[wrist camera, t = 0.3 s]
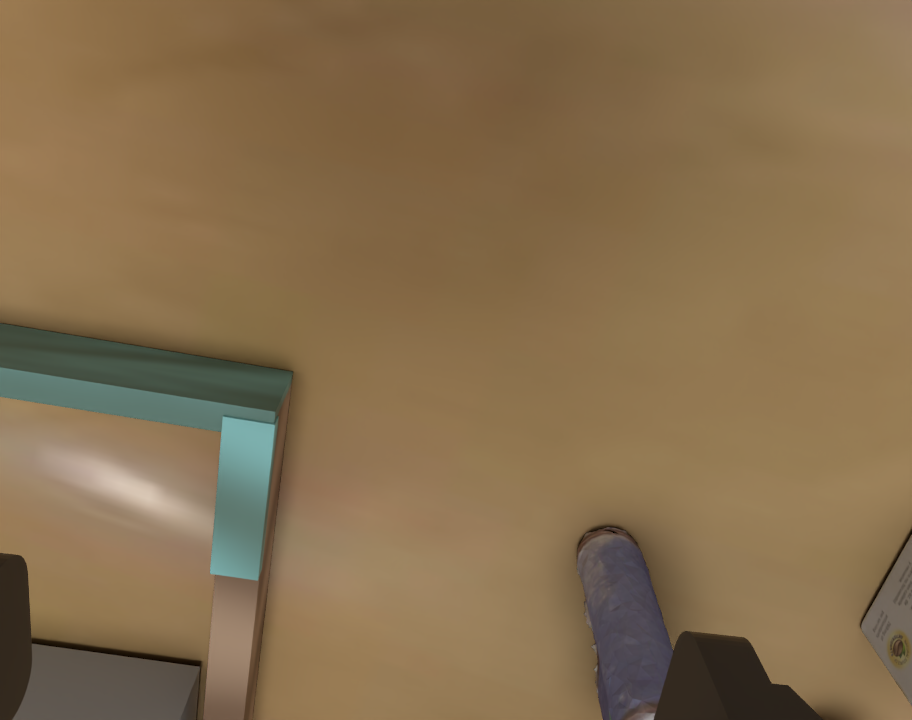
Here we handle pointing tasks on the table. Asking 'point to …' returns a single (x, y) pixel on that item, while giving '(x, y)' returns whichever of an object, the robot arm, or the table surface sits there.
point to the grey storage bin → (107, 687)
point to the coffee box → (894, 622)
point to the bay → (239, 476)
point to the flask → (623, 625)
